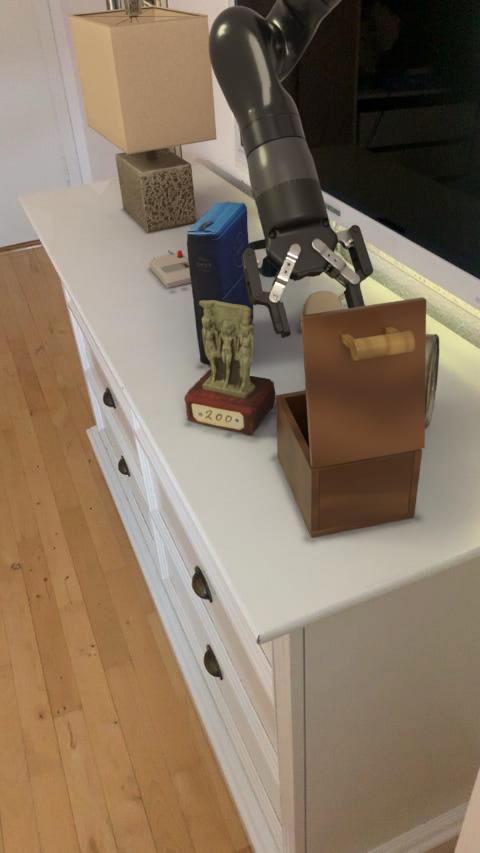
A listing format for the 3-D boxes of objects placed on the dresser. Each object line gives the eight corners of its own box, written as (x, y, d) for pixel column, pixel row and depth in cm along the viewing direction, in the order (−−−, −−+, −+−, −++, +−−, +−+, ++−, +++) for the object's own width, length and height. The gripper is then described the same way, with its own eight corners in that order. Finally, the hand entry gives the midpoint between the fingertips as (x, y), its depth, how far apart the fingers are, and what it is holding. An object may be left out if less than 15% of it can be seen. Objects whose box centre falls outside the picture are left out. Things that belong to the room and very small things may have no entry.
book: (229, 372, 98) (218, 233, 86) (193, 368, 99) (178, 231, 88) (257, 325, 109) (251, 196, 97) (224, 322, 111) (215, 195, 99)
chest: (277, 458, 82) (275, 394, 77) (367, 442, 83) (371, 379, 78) (311, 538, 71) (311, 470, 66) (414, 517, 72) (422, 450, 67)
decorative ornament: (297, 319, 110) (297, 288, 107) (350, 315, 110) (352, 283, 107) (301, 331, 107) (301, 299, 103) (355, 327, 107) (357, 295, 104)
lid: (300, 315, 60) (319, 331, 55) (422, 296, 61) (451, 311, 57) (310, 465, 66) (327, 492, 61) (421, 445, 67) (447, 469, 62)
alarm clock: (423, 455, 81) (438, 329, 71) (376, 447, 82) (385, 323, 73) (436, 404, 89) (451, 285, 79) (393, 397, 91) (403, 280, 81)
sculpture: (183, 425, 88) (169, 318, 79) (210, 392, 94) (200, 288, 85) (254, 440, 85) (248, 330, 76) (278, 405, 91) (275, 298, 82)
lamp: (101, 205, 162) (65, -3, 138) (174, 191, 167) (152, -11, 144) (140, 245, 140) (106, 6, 116) (223, 227, 145) (206, -5, 121)
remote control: (170, 292, 121) (168, 275, 119) (143, 261, 133) (141, 246, 131) (206, 283, 123) (205, 267, 121) (176, 254, 135) (174, 239, 133)
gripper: (230, 189, 75) (268, 336, 74) (355, 164, 77) (392, 307, 77) (222, 214, 82) (256, 347, 82) (336, 190, 84) (370, 320, 84)
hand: (322, 328), depth 79 cm, fingers open, 8 cm apart
